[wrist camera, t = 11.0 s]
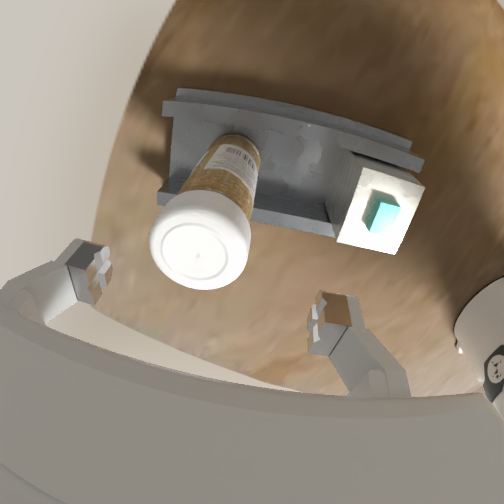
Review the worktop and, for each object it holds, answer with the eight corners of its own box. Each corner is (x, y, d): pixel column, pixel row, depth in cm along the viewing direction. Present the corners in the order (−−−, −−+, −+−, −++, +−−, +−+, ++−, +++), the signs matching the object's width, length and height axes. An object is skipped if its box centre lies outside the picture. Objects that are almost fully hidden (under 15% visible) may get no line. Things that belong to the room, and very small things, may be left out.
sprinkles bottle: (196, 153, 23) (127, 241, 12) (240, 122, 22) (200, 186, 11) (228, 193, 25) (192, 305, 14) (272, 166, 24) (268, 269, 13)
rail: (407, 138, 22) (451, 169, 15) (372, 231, 28) (396, 283, 21) (180, 87, 21) (142, 97, 15) (171, 192, 27) (140, 236, 20)
